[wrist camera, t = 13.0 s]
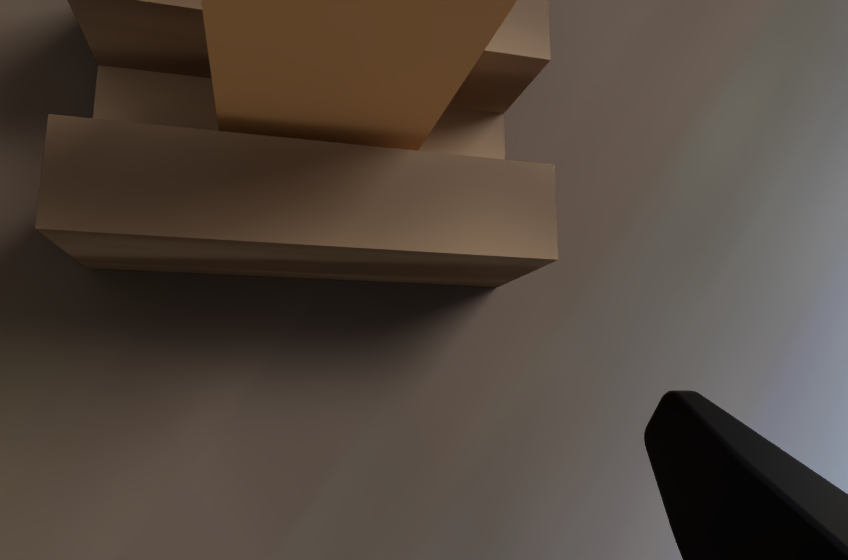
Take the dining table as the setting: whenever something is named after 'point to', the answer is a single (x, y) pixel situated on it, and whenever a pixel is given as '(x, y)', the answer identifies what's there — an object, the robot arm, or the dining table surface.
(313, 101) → the rectangular block
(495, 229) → the rack
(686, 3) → the dining table surface
